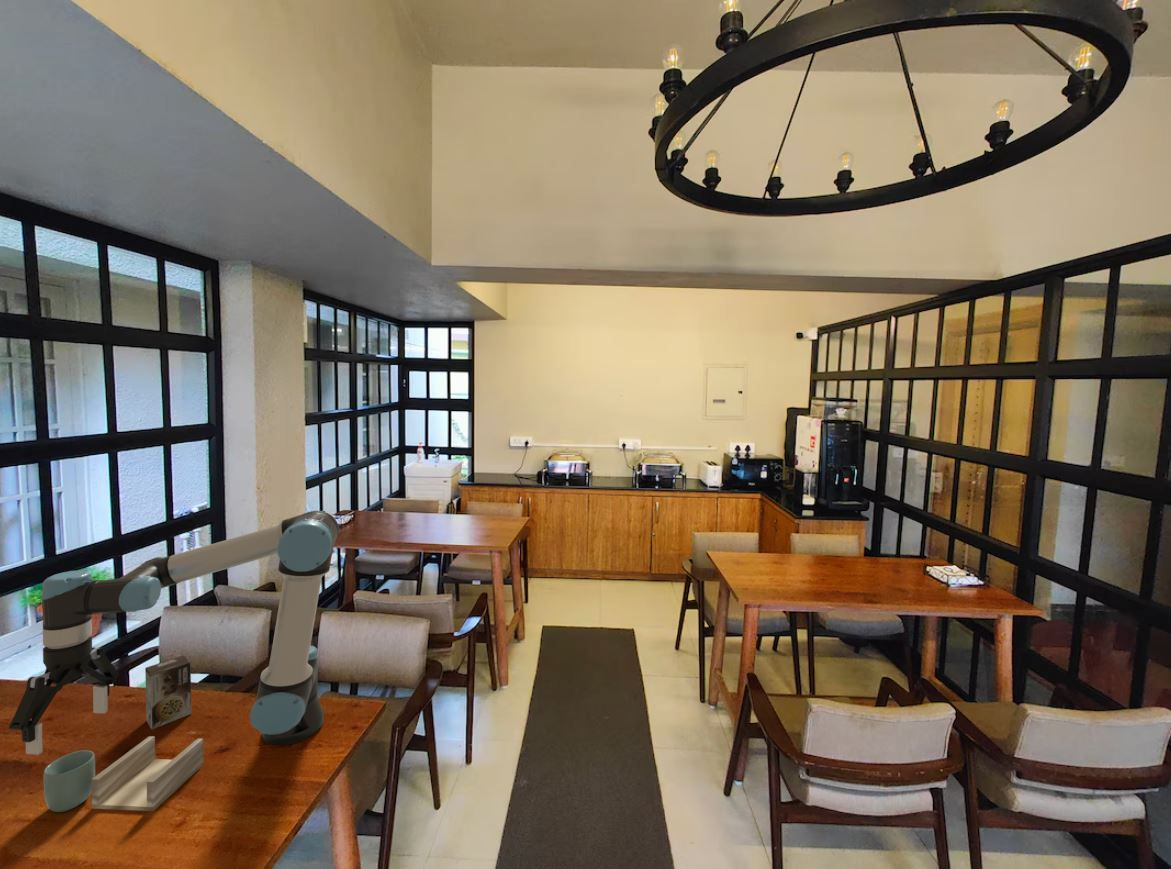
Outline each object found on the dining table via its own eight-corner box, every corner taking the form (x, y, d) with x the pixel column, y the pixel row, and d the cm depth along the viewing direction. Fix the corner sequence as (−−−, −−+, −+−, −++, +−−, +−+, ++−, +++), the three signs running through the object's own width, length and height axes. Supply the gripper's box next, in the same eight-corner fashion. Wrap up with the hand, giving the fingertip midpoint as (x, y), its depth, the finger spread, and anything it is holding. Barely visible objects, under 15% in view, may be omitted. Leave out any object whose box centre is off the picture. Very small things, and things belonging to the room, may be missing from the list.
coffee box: (185, 705, 144) (185, 654, 143) (192, 714, 140) (191, 661, 139) (145, 720, 136) (144, 666, 135) (151, 730, 133) (150, 675, 132)
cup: (61, 822, 104) (60, 778, 103) (35, 814, 105) (34, 771, 105) (104, 793, 111) (103, 753, 111) (78, 787, 113) (78, 747, 112)
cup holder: (203, 764, 121) (203, 738, 121) (153, 811, 107) (153, 781, 107) (149, 762, 121) (148, 736, 121) (92, 808, 107) (91, 779, 107)
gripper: (108, 616, 119) (109, 697, 120) (-20, 670, 94) (-18, 772, 95) (137, 617, 119) (138, 698, 120) (16, 672, 94) (19, 774, 95)
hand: (69, 731), depth 108 cm, fingers open, 13 cm apart
